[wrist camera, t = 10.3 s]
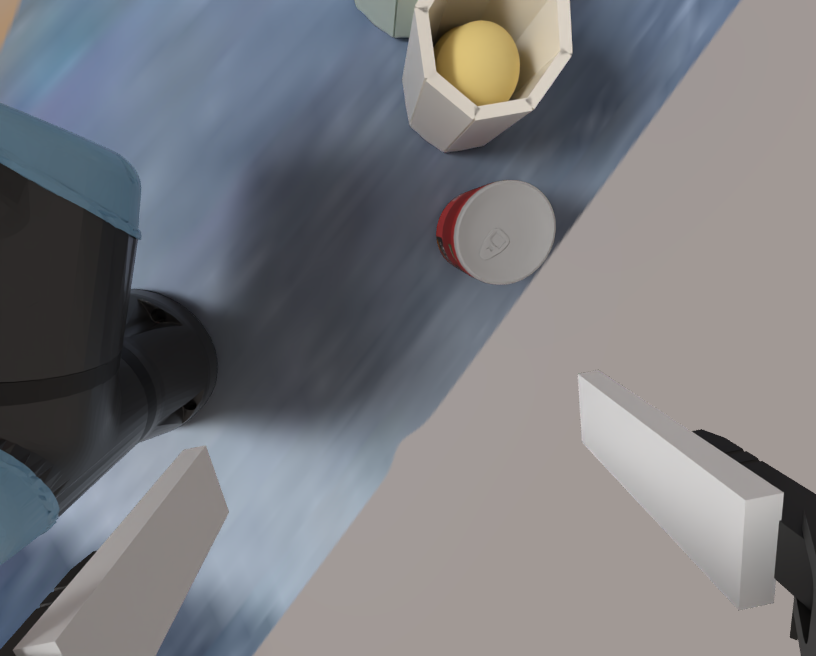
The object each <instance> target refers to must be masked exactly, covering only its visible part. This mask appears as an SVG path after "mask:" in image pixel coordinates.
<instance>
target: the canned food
mask: <svg viewBox="0 0 816 656" xmlns="http://www.w3.org/2000/svg"><path fill="white" fill-rule="evenodd" d="M555 232H556V222H555V216H554V211H553V209H552V206H551V204H550V202H549V200H548V199H547V198H546V196H545V195H544V194H543V193H542V192H541V191H540V190H539V189H537V188H536V187H534V186H532V185H531V184H529V183H526V182H522V181H518V180H503V181H497V182H493V183H490V184H487V185H484V186H482V187H479V188H476V189H473V190H471V191H468V192H465V193H463V194H460V195H459V196H457V197H456V198H454V199H453V200H452V201H451V202H450V203H449V204H448V205H447V206H446V207H445V209H444V210H443V212H442V214H441V216H440V218H439V221H438V224H437V231H436V237H437V244H438V247H439V250H440V252H441V253H442V255H443V257H444V258H445V259H446V260H447V261H448V262H449V263H450V264H452V265H453V266H455V267H456V268H458V269H460V270H461V271H463V272H465V273H466V274H468V275H470V276H471V277H473V278H475V279H478V280H480V281H482V282H485V283H489V284H495V285H505V284H511V283H515V282H517V281H520V280H523V279H524V278H526V277H528V276H529V275H531V274H532V273H533V272H534V271H536V270H537V269H538V268H539V267H540V266H541V264H542V263H543V262H544V261H545V259H546V258H547V256H548V254H549V252H550V251H551V248H552V245H553V242H554V238H555Z"/></svg>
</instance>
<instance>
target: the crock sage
mask: <svg viewBox="0 0 816 656" xmlns="http://www.w3.org/2000/svg"><path fill="white" fill-rule="evenodd" d="M417 1H418V0H355V6H356V7H357V8H358V9H359V10H360V11H361V12H363V13H364V14H365V16H366V17H367V18H368V19H369V20H370V21H371V22H372V23H373V24H374V25H375V26H376V27H378V28H379V29H380V30H382V31H384V32H386V33H387V34H389V35H390V36H391V37H392V38H393V36H394V38H399V37H401V38H409V37H410V31H411V25H412V20H413V14H414V8H415V5H416V3H417Z"/></svg>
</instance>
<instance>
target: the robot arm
mask: <svg viewBox="0 0 816 656" xmlns="http://www.w3.org/2000/svg"><path fill="white" fill-rule="evenodd" d="M140 199H141V183H140V179H139V176H138V174H137V172H136V170H135V169H134V167H133V166H132V165H131V164H130V163H129V162H128V161H127V160H126V159H125V158H123V157H122V156H121V155H119V154H118V153H116V152H114V151H112V150H110V149H108V148H106V147H104V146H102V145H99V144H97V143H95V142H93V141H90V140H88V139H86V138H84V137H81V136H79V135H77V134H74V133H72V132H70V131H67V130H65V129H63V128H60V127H58V126H55V125H53V124H51V123H48V122H46V121H43V120H41V119H39V118H36V117H34V116H31V115H29V114H27V113H24V112H22V111H19V110H17V109H14V108H12V107H9V106H7V105H4V104H2V103H0V565H1V564H3V563H4V562H6V561H7V560H8V559H10V558H11V557H12V556H14V555H15V554H16V553H18V552H19V551H20V550H21V549H23V548H24V547H25V546H27V545H28V544H29V543H30V542H32V541H33V540H34V539H36V538H37V537H38V536H40V535H42V534H44V533H45V532H47V531H48V530H49V529H50V528H51V527H52V526H53V525H54V524H55V523H56V520H57V519H58V517H59V516H60V515H61V514H63V513H64V512H65V511H66V510H67V509H68V508H69V507H70V506H71V505H72V504H73V503H74V502H75V501H76V500H78V499H79V498H80V497H81V496H82V495H83V494H84V493H85V492H86V491H87V490H88V489H89V488H90V487H91V486H93V485H94V484H95V483H96V482H97V481H98V480H99V479H100V478H101V477H102V476H103V475H104V474H105V473H106V472H108V471H109V470H110V469H111V468H112V467H113V466H114V465H115V464H116V463H117V462H118V461H119V460H120V459H122V458H123V457H124V456H125V455H126V454H127V453H128V452H129V451H130V450H131V449H132V448H133V447H134V446H135V445H136V444H138V443H140V442H142V441H145V440H148V439H151V438H153V437H156V436H159V435H161V434H164V433H167V432H169V431H172V430H174V429H176V428H178V427H179V426H181V425H182V424H184V423H185V422H187V421H188V420H189V419H190V418H191V417H193V416H194V415H195V414H196V413H197V411H198V410H199V409H200V408H201V407H202V406H203V405H204V404H205V403H206V401H207V400H208V398H209V397H210V395H211V393H212V391H213V388H214V386H215V382H216V378H217V357H216V353H215V349H214V346H213V343H212V341H211V339H210V337H209V335H208V333H207V331H206V330H205V328H204V327H203V326H202V324H201V323H200V322H199V321H198V319H197V318H196V317H195V316H194V315H193V314H192V313H190V312H189V311H188V310H187V309H186V308H184V307H183V306H181V305H180V304H178V303H177V302H175V301H173V300H171V299H169V298H167V297H165V296H163V295H160V294H157V293H154V292H150V291H145V290H137V289H131V284H132V277H133V270H134V263H135V256H136V249H137V243H138V239H139V240H141V232H140V230H139V229H138V225H139V212H140ZM578 385H579V386H578V388H579V403H580V418H581V433H582V443H583V444H584V445H585V446H586V447H587V448H588V449H589V450H590V451H591V452H592V453H593V455H594V456H595V457H596V458H597V459H598V460H599V461H600V462H601V463H602V464H603V465H604V466H605V468H607V470H608V471H609V472H610V473H611V474H612V475H613V476H614V477H615V478H616V479H617V480H618V481H619V483H620V484H621V485H622V486H623V487H624V488H625V489H626V490H627V491H628V492H629V493H630V494H631V495H632V497H633V498H634V499H635V500H636V501H637V502H638V503H639V504H640V505H641V506H642V507H643V508H644V509H645V510H646V512H647V513H648V514H649V515H650V516H651V517H652V518H653V519H654V520H655V521H656V522H657V523H658V524H659V526H661V528H662V529H663V530H664V531H665V532H666V533H667V534H668V535H669V536H670V537H671V538H672V539H673V541H674V542H675V543H676V544H677V545H678V546H679V547H680V548H681V549H682V550H683V551H684V552H685V553H686V554H687V556H688V557H689V558H690V559H691V560H692V561H693V562H694V563H695V564H696V565H697V566H698V567H699V568H700V570H701V571H702V572H703V573H704V574H705V575H706V576H707V577H708V578H709V579H710V580H711V581H712V582H713V583H714V585H715V586H716V587H717V588H718V589H719V590H720V591H721V592H722V593H723V594H724V595H725V596H726V597H727V598H728V599H729V601H730V602H731V603H732V604H733V605H734V606H735V607H736V608H737V609H738V610H743V609H748V608H753V607H757V606H762V605H767V604H771V603H774V594H775V583H776V580H777V581H778V582H779V583H780V584H781V585H782V586H784V587H785V588H786V589H787V590H788V591H789V592H790V593H791V594H792V595H794V605H793V613H792V622H791V631H790V638H793V639H795V640H797V639H798V640H799V647H800V652H801V656H816V494H814V493H813V492H811V491H810V490H808V489H806V488H805V487H803V486H802V485H800V484H798V483H797V482H795V481H794V480H792V479H790V478H789V477H787V476H786V475H784V474H782V473H781V472H779V471H778V470H776V469H774V468H773V467H771V466H769V465H768V464H766V463H765V462H763V461H759V460H758V458H757V457H755V456H753V455H752V454H750V453H748V452H747V451H746V452H744V451H743V449H742V448H740V447H739V446H737V445H736V444H734V443H732V442H730V441H729V440H727V439H726V438H724V437H721V436H718V435H715V434H713V433H710V432H707V431H705V430H702V429H701V430H696V431H690V430H689V429H687V428H686V427H684V426H683V425H681V424H680V423H678V422H677V421H675V420H674V419H672V418H671V417H669V416H667V415H666V414H665V413H663V412H662V411H660V410H658V409H657V408H656V407H654V406H653V405H651V404H650V403H648V402H647V401H645V400H644V399H642V398H641V397H639V396H638V395H636V394H634V393H633V392H631V391H630V390H629V389H627V388H625V387H624V386H623V385H621V384H619V383H618V382H616V381H615V380H613V379H612V378H610V377H609V376H607V375H606V374H604V373H603V372H601V371H600V370H595V371H590V372H584V373H579V374H578ZM228 513H229V511H228V508H227V505H226V502H225V499H224V496H223V493H222V491H221V488H220V485H219V482H218V479H217V476H216V473H215V471H214V468H213V465H212V462H211V459H210V456H209V453H208V450H207V448H206V446H201V447H195V448H190V449H185V450H183V451H182V452H181V453H180V454H179V456H178V457H177V458H176V459H175V460H174V462H173V463H172V464H171V465H170V466H169V467H168V469H167V470H166V471H165V472H164V473H163V474H162V476H161V477H160V478H159V479H158V480H157V481H156V483H155V484H154V485H153V486H152V487H151V488H150V490H149V491H148V492H147V493H146V494H145V496H144V497H143V498H142V499H141V500H140V501H139V503H138V504H137V505H136V506H135V507H134V508H133V510H132V511H131V512H130V513H129V514H128V515H127V517H126V518H125V519H124V520H123V521H122V522H121V524H120V525H119V526H118V527H117V528H116V530H115V531H114V532H113V533H112V534H111V535H110V537H109V538H108V539H107V540H106V541H105V542H104V544H103V545H102V546H101V547H100V548H99V549H98V551H93V552H92V553H91V554H90V555H88V556H87V557H86V558H85V559H83V560H82V561H81V562H80V563H78V564H77V565H76V566H75V567H73V568H72V569H71V570H70V571H69V572H68V573H67V575H66V576H65V577H64V578H63V579H62V580H61V581H60V583H59V584H58V585H57V586H56V587H55V588H54V592H51V593H50V594H49V595H48V596H47V597H46V598H45V600H44V601H43V602H42V603H41V604H40V608H38V609H36V610H35V611H34V612H33V613H32V614H31V615H30V617H29V618H28V619H27V620H26V621H25V622H24V623H23V624H22V626H21V627H20V628H19V629H18V630H17V631H16V632H15V634H14V635H13V636H12V637H11V638H10V639H9V640H8V641H7V643H6V644H5V645H4V646H3V647H2V648H1V649H0V656H156V654H157V652H158V650H159V648H160V646H161V644H162V642H163V640H164V638H165V636H166V634H167V632H168V630H169V628H170V626H171V624H172V622H173V620H174V619H175V617H176V615H177V613H178V611H179V609H180V607H181V605H182V603H183V601H184V599H185V597H186V595H187V593H188V591H189V589H190V587H191V585H192V583H193V581H194V579H195V578H196V576H197V574H198V572H199V570H200V568H201V566H202V564H203V562H204V560H205V558H206V556H207V554H208V552H209V550H210V548H211V546H212V544H213V542H214V540H215V538H216V537H217V535H218V533H219V531H220V529H221V527H222V525H223V523H224V521H225V519H226V517H227V515H228Z"/></svg>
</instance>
